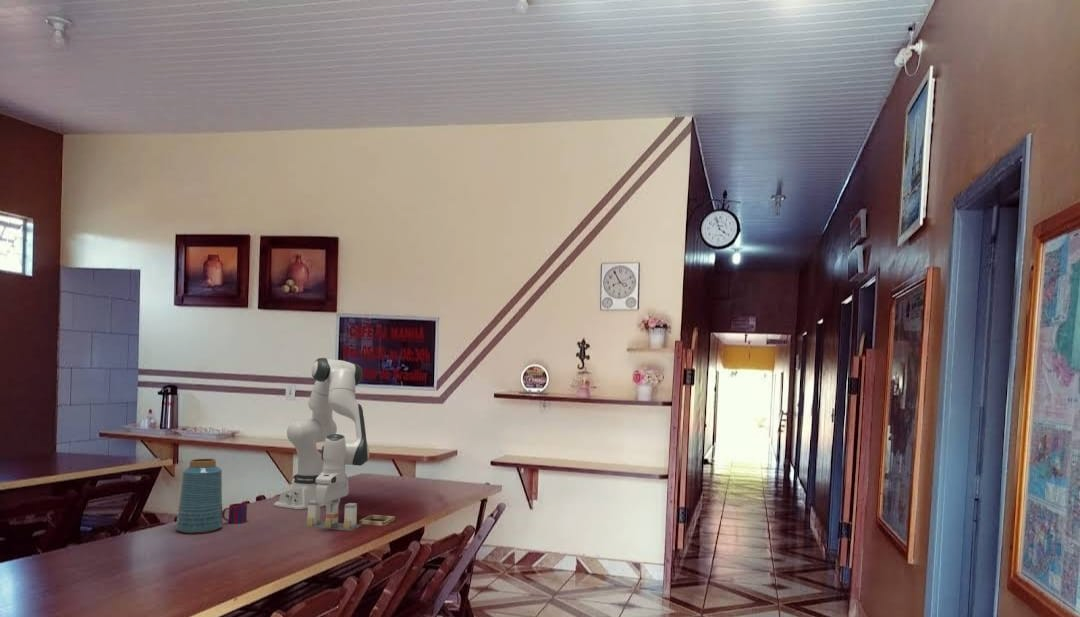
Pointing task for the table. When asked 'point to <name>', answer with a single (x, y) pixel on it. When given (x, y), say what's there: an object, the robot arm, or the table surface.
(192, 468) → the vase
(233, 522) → the mug
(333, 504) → the fuse marked
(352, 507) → the fuse right
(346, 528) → the fuse board
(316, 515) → the block
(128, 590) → the table surface
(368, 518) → the tray
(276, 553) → the table surface
